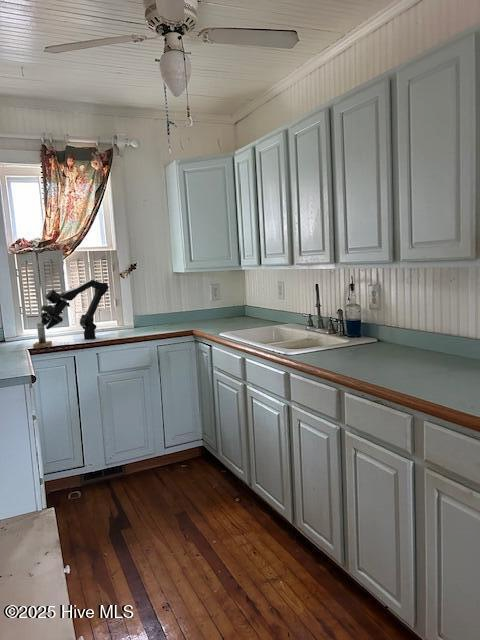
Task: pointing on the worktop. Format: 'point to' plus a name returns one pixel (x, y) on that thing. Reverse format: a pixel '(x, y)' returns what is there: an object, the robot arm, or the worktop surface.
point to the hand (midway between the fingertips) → (43, 328)
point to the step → (42, 344)
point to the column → (41, 333)
